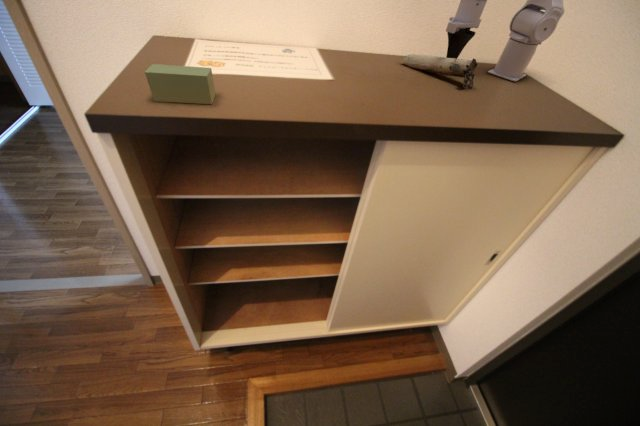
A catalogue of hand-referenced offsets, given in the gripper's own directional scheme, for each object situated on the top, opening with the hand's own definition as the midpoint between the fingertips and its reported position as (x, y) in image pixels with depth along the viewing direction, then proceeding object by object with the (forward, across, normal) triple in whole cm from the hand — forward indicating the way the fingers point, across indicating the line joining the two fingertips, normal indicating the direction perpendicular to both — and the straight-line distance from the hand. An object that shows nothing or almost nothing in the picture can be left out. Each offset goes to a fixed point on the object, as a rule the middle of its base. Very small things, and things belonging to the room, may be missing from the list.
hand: (450, 61), depth 76 cm
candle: (+3, +6, 0) cm, 7 cm away
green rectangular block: (+3, +65, -20) cm, 68 cm away
